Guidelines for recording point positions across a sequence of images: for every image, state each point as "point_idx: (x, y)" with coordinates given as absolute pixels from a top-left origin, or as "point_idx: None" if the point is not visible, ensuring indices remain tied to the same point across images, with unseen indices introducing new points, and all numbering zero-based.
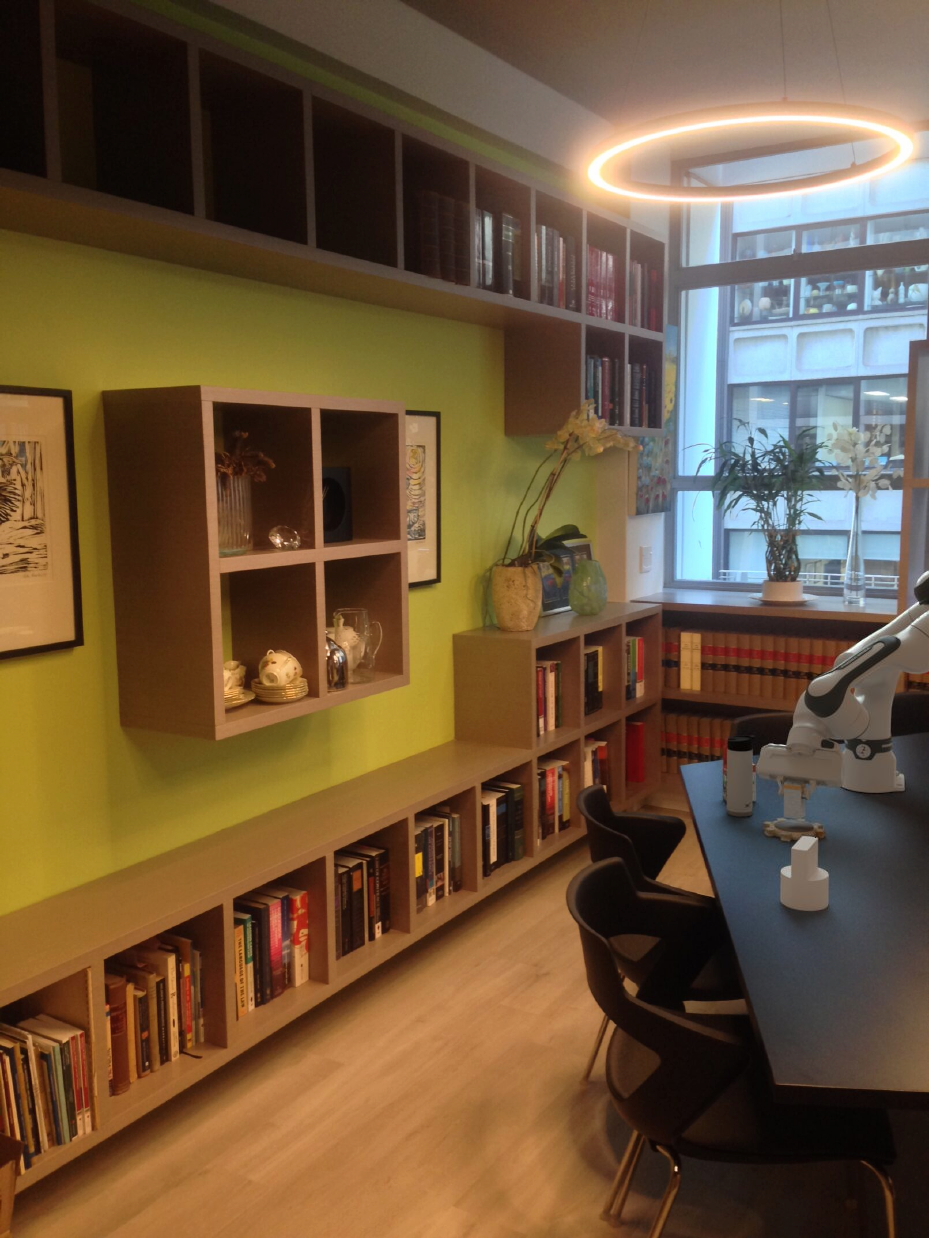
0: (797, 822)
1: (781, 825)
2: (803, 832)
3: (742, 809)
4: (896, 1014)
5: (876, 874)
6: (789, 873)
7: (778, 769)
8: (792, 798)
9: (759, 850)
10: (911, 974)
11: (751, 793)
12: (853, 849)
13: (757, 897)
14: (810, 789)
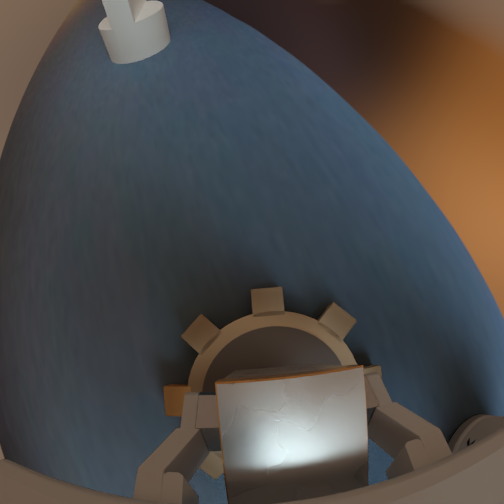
0: None
1: None
2: (219, 347)
3: (470, 430)
4: (82, 4)
5: (34, 184)
6: (150, 5)
7: (477, 476)
8: (280, 372)
9: (292, 176)
10: (61, 28)
11: None
12: (74, 320)
13: (200, 29)
14: (171, 434)
